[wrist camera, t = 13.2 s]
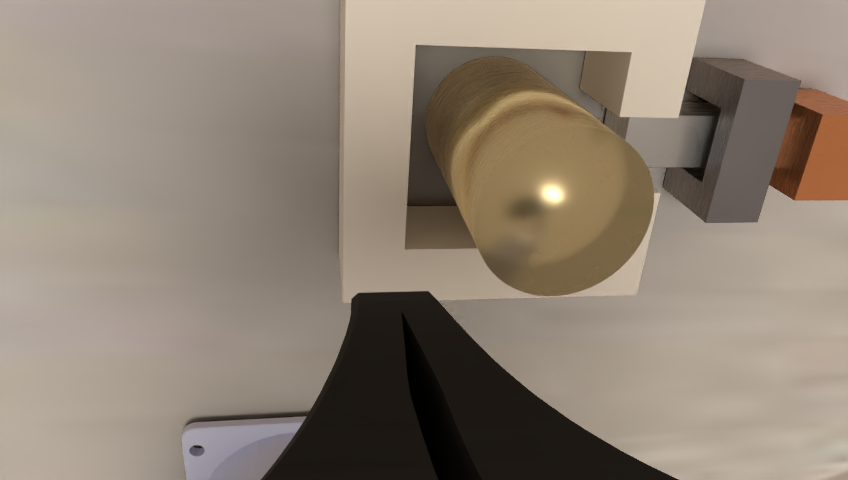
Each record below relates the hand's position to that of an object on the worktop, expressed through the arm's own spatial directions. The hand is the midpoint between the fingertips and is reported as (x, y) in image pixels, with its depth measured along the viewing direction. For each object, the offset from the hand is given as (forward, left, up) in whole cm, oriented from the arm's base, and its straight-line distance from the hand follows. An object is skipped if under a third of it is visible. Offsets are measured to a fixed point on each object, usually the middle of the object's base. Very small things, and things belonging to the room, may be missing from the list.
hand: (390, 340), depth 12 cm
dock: (+1, -4, -10) cm, 11 cm away
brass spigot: (+1, -4, -10) cm, 11 cm away
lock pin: (+1, -11, -10) cm, 15 cm away
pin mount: (+1, -11, -10) cm, 15 cm away
